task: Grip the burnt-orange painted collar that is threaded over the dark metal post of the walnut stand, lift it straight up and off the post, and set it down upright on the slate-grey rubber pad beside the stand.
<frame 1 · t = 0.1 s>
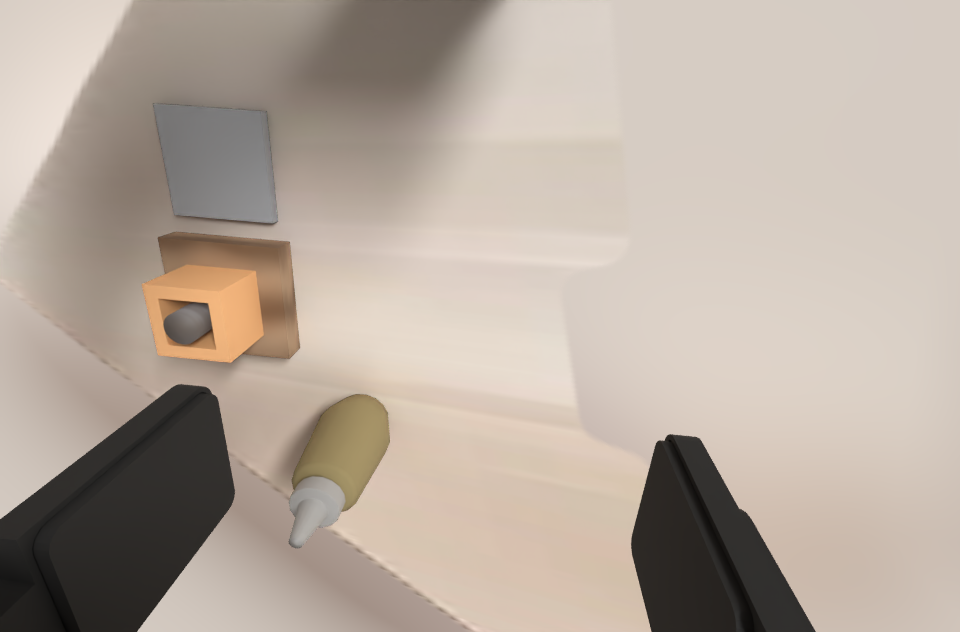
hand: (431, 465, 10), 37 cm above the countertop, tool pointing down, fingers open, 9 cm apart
stand: (240, 292, 50), on the countertop
squeeze bottle: (364, 413, 55), on the countertop
collar: (226, 300, 48), point 2 cm above the countertop, touching stand
pad: (221, 164, 45), on the countertop
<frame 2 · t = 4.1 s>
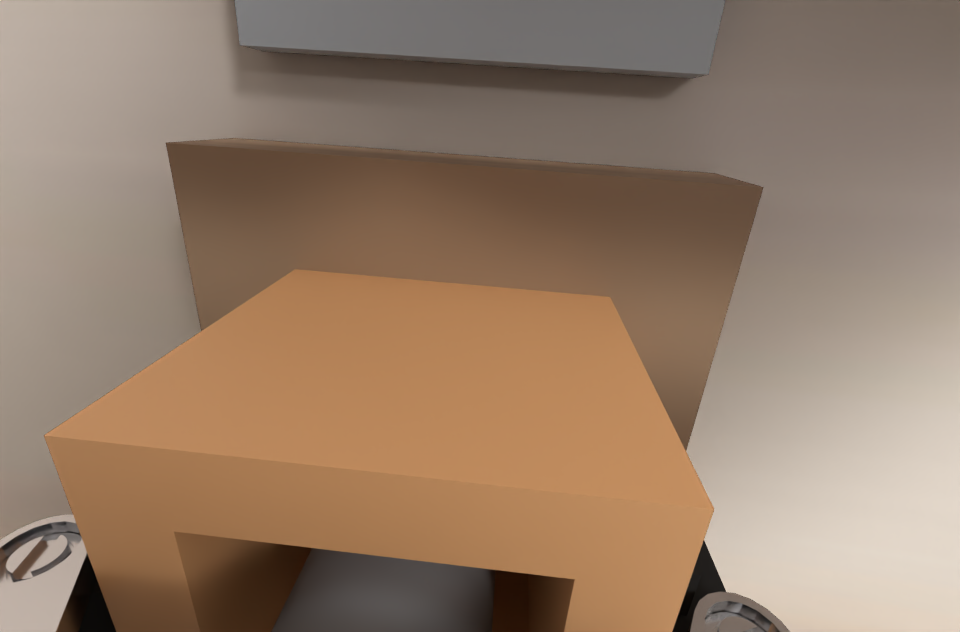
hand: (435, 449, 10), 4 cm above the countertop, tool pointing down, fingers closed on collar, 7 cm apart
stand: (457, 366, 14), on the countertop
collar: (444, 415, 12), point 3 cm above the countertop, touching gripper, stand
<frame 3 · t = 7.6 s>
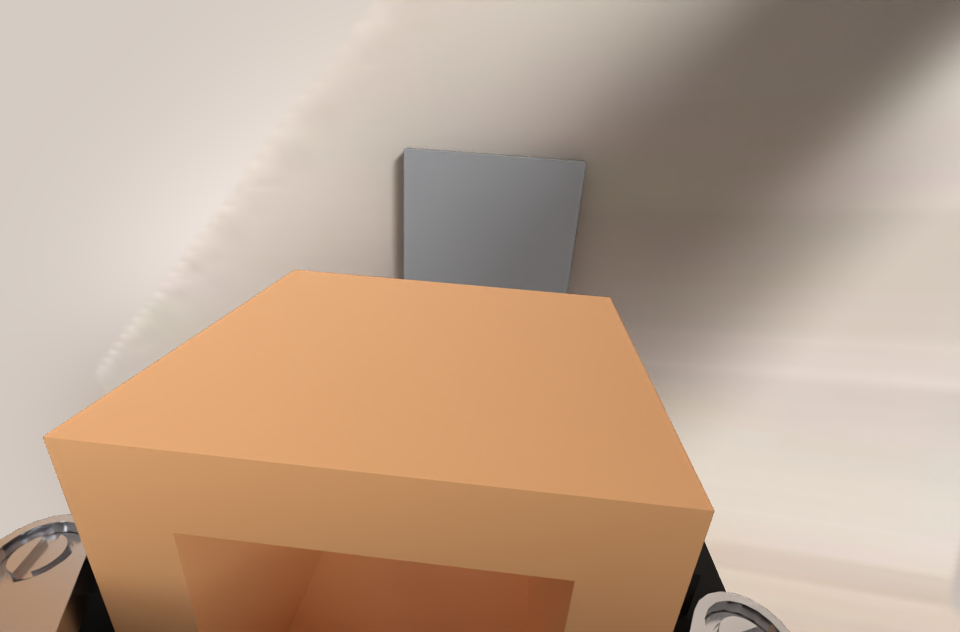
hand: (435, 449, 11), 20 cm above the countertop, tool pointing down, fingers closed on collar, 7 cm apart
collar: (444, 415, 12), point 18 cm above the countertop, touching gripper
pad: (488, 241, 28), on the countertop
when the fingers open (4 cm above the countertop, at t = 11.4 s): collar drops 2 cm, resting on pad.
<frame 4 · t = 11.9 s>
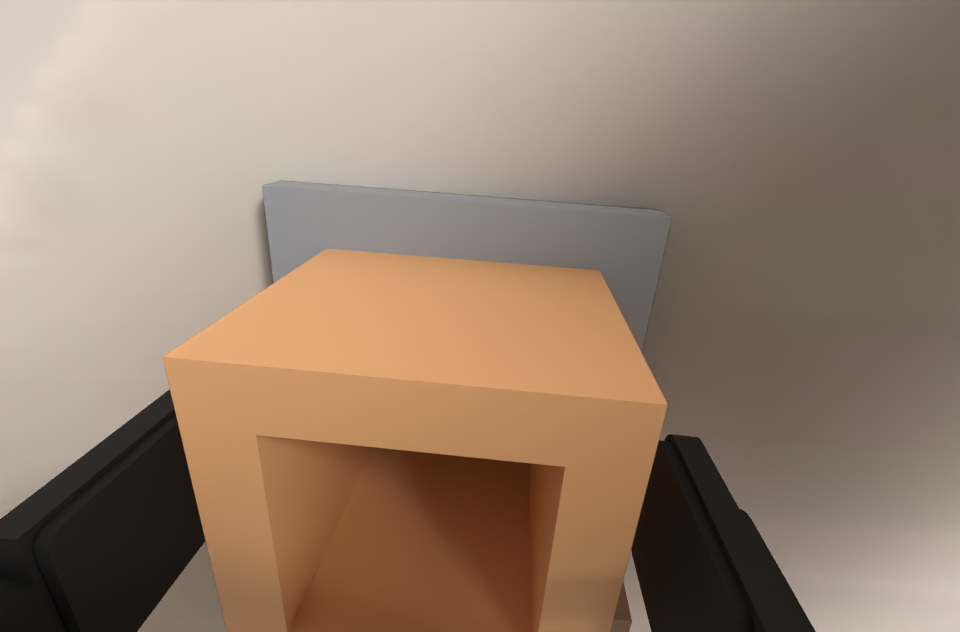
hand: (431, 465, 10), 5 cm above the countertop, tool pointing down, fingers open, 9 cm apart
collar: (455, 378, 13), point 1 cm above the countertop, touching pad
pad: (458, 362, 14), on the countertop
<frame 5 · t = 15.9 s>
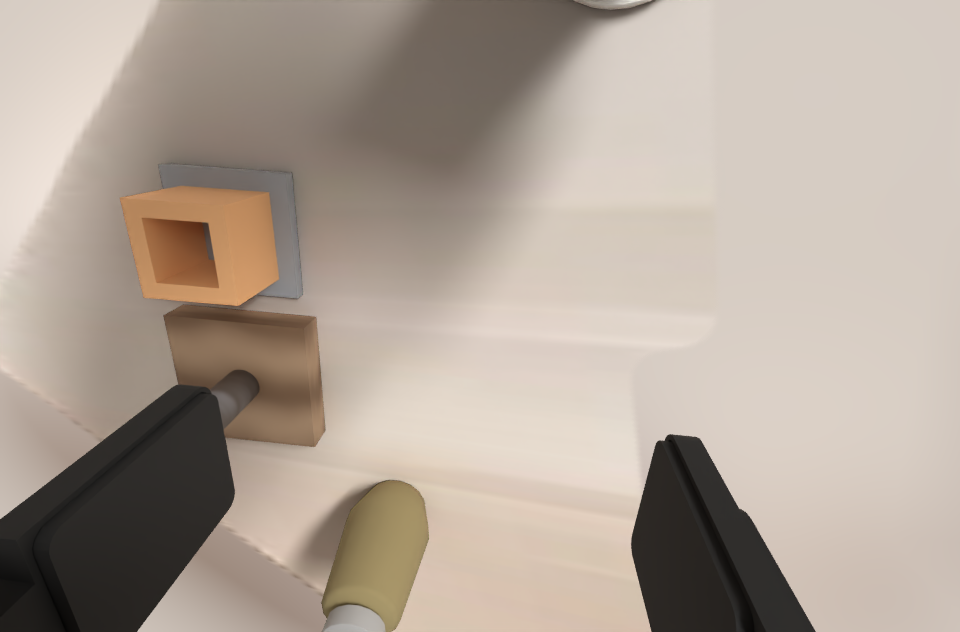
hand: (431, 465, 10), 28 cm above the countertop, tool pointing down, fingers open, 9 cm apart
stand: (257, 370, 43), on the countertop
squeeze bottle: (397, 499, 48), on the countertop
collar: (231, 233, 37), point 1 cm above the countertop, touching pad
pad: (238, 231, 38), on the countertop
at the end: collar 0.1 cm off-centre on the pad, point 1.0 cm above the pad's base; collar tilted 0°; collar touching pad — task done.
